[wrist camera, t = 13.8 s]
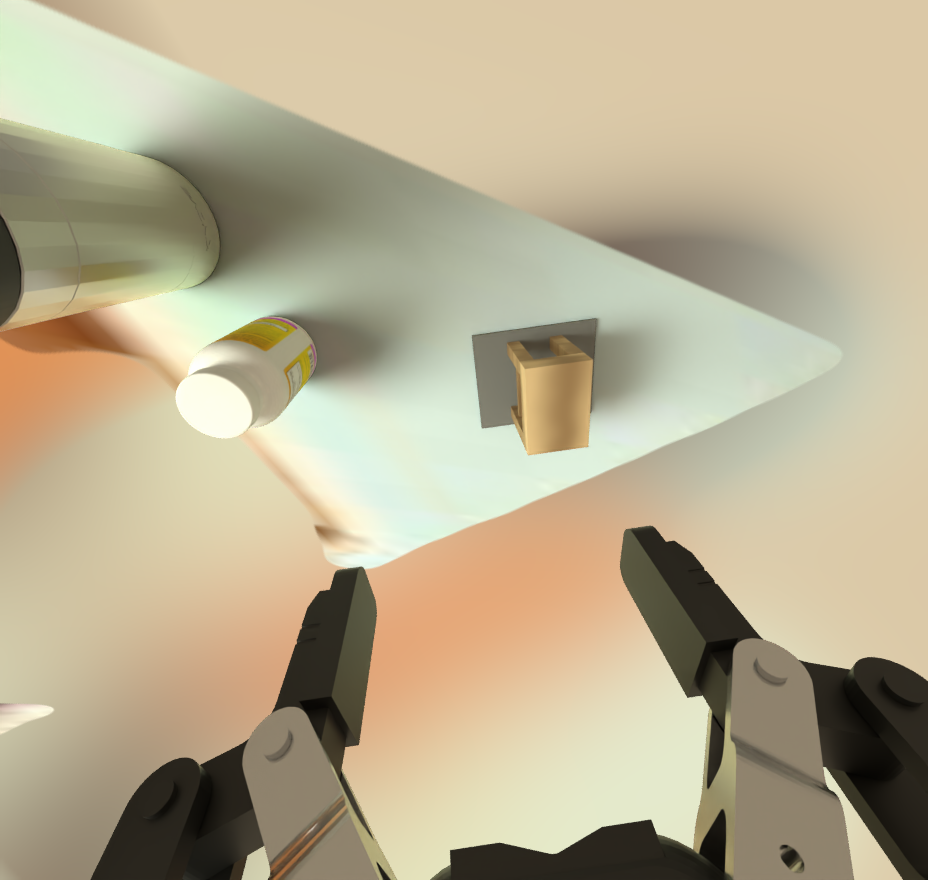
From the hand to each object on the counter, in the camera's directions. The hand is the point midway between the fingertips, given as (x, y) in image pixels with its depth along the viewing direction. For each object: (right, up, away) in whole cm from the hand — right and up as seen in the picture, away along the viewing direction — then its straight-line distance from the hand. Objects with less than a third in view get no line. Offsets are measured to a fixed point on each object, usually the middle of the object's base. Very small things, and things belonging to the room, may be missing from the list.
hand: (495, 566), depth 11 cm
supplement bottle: (-18, +12, +24) cm, 33 cm away
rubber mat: (+6, +10, +27) cm, 30 cm away
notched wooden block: (+6, +10, +27) cm, 29 cm away
